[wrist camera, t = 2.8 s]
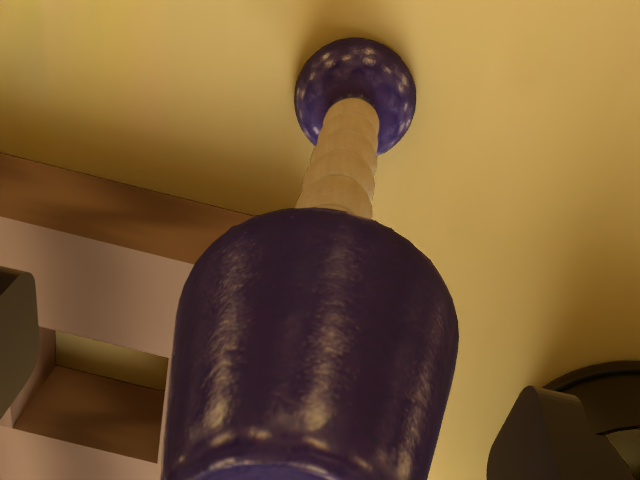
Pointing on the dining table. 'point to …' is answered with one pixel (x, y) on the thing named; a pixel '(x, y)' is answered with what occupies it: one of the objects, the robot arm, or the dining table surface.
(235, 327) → the toy lamp
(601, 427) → the french press
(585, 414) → the robot arm
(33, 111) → the dining table surface
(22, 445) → the socket block
